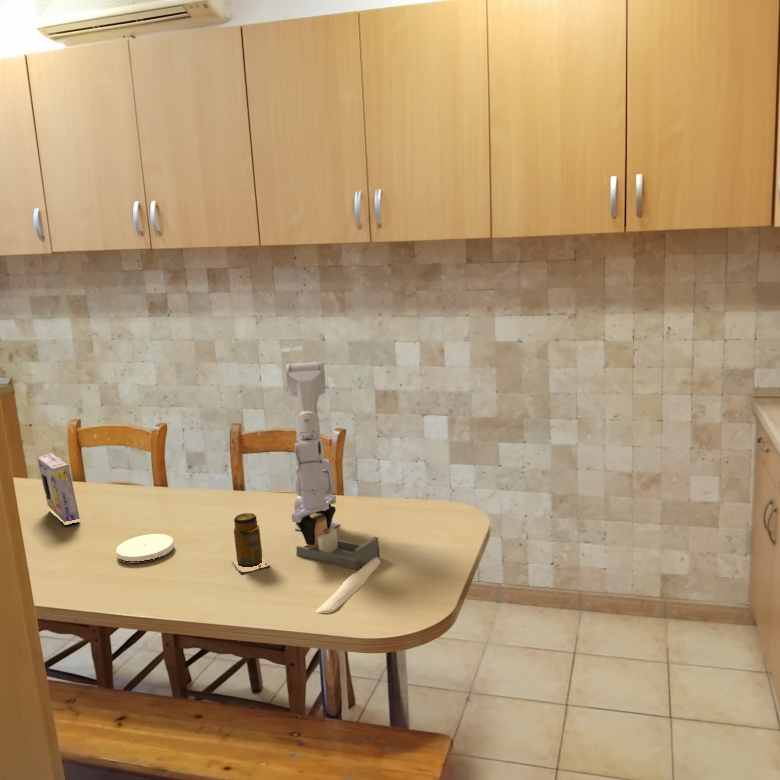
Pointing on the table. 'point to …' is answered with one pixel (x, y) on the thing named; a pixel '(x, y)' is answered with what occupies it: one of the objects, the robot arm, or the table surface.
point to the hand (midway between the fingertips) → (317, 539)
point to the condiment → (247, 540)
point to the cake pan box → (58, 487)
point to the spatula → (349, 587)
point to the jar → (318, 528)
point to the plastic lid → (145, 547)
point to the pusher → (328, 540)
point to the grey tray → (344, 553)
